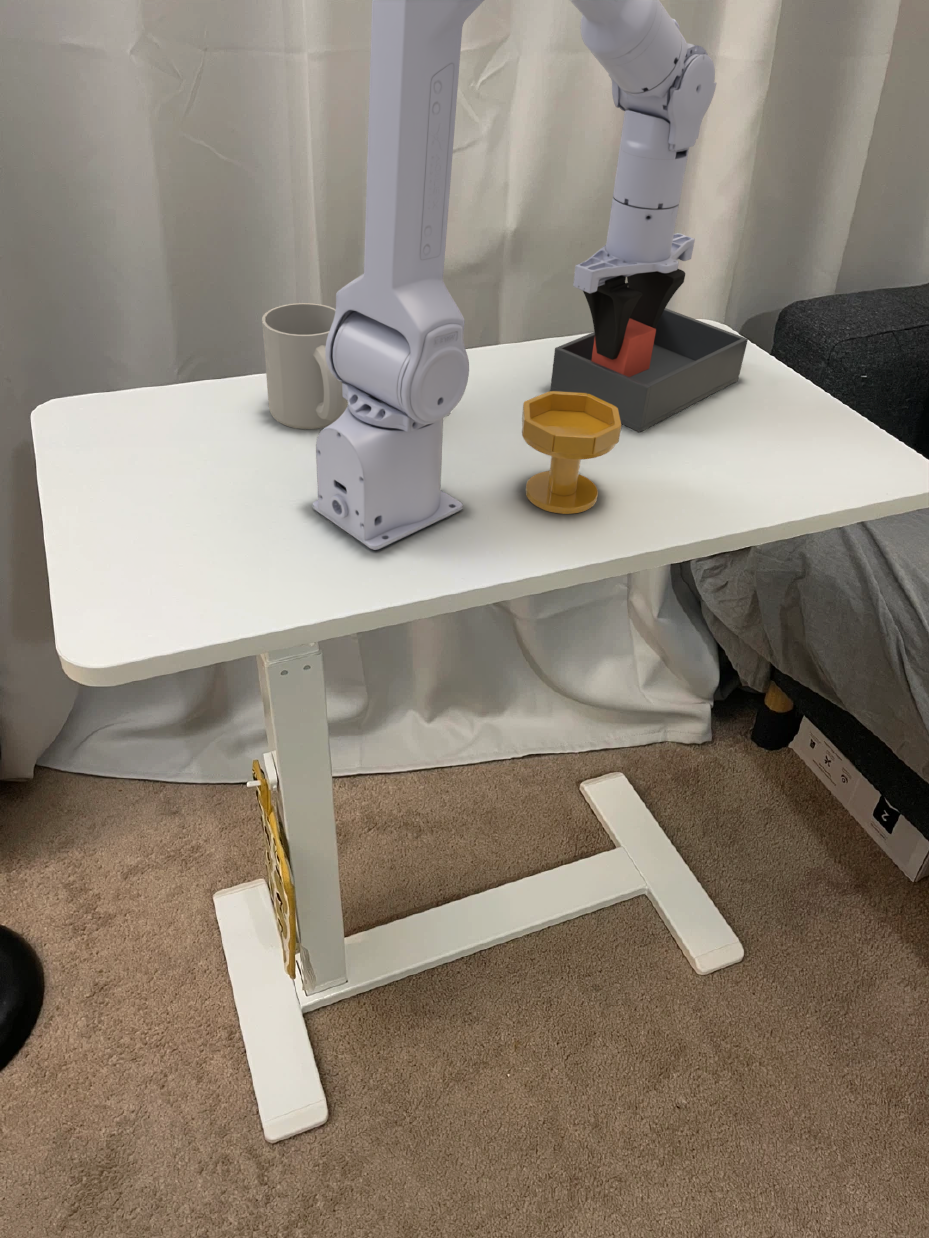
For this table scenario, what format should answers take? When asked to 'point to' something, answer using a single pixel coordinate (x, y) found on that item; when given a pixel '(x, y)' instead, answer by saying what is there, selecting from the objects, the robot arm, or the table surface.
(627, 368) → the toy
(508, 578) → the table surface
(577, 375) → the bin
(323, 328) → the cup
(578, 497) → the bowl
